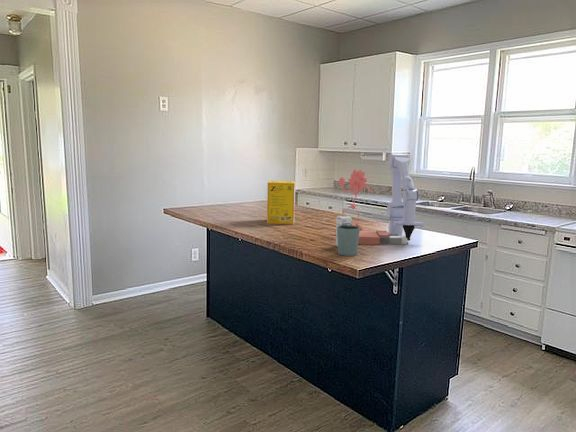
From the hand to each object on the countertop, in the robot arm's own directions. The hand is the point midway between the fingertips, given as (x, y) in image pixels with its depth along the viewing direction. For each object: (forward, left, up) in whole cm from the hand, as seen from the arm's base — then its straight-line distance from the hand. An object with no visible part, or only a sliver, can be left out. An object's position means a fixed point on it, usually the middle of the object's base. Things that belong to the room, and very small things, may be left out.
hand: (407, 240), depth 223 cm
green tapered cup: (+29, -32, -1) cm, 43 cm away
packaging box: (-50, -68, -1) cm, 84 cm away
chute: (+2, -6, -1) cm, 7 cm away
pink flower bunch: (-22, -24, -1) cm, 33 cm away
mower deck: (0, -15, -1) cm, 15 cm away
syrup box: (+15, -33, -1) cm, 36 cm away
